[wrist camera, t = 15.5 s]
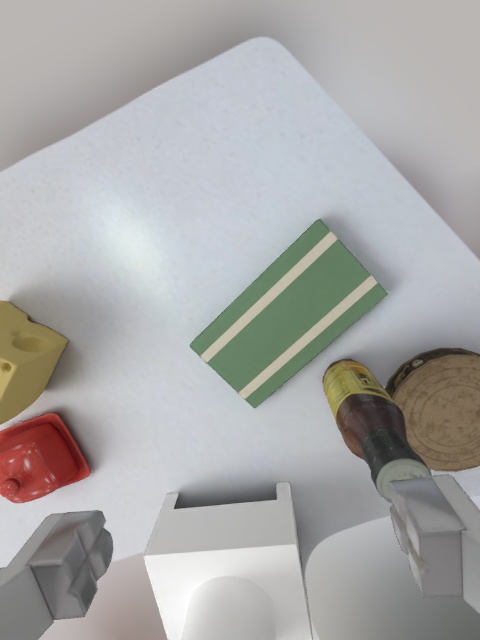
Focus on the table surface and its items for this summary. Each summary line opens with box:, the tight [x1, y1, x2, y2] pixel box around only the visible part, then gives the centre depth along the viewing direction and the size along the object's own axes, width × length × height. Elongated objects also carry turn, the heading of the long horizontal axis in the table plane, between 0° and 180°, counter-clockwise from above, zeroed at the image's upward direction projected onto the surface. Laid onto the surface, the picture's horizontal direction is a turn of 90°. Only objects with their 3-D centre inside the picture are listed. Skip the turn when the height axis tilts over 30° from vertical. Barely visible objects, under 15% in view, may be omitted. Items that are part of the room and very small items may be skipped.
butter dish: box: [0, 413, 91, 503], centre depth 44 cm, size 12×12×8 cm
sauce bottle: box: [323, 359, 432, 504], centre depth 33 cm, size 6×6×20 cm
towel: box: [190, 219, 388, 408], centre depth 40 cm, size 22×12×2 cm, turn 135°
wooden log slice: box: [385, 348, 480, 472], centre depth 41 cm, size 16×16×3 cm
